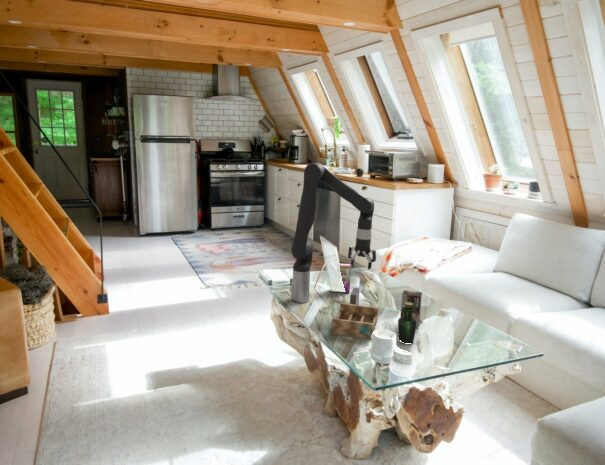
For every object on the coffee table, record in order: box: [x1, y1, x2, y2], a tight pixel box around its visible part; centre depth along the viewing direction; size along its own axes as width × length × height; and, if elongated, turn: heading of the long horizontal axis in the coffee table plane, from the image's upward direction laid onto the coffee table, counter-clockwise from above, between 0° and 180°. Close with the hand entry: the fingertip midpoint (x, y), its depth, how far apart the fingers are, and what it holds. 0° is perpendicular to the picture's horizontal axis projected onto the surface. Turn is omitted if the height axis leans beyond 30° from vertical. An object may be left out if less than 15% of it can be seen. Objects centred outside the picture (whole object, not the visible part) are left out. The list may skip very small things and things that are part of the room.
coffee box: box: [400, 290, 423, 329], centre depth 234 cm, size 9×6×16 cm
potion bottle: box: [397, 302, 417, 344], centre depth 214 cm, size 8×8×18 cm
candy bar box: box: [338, 262, 352, 294], centre depth 278 cm, size 11×5×16 cm, turn 84°
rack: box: [331, 302, 379, 340], centre depth 229 cm, size 19×23×7 cm
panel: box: [349, 287, 360, 305], centre depth 251 cm, size 3×12×10 cm, turn 166°
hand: (360, 267), depth 249 cm, fingers open, 8 cm apart
